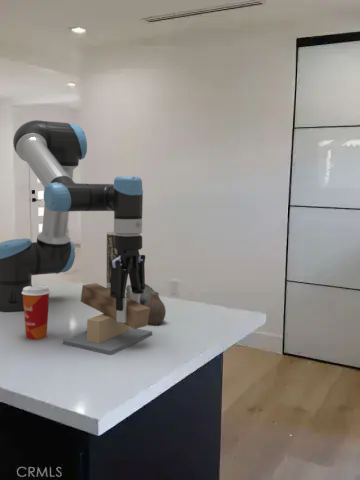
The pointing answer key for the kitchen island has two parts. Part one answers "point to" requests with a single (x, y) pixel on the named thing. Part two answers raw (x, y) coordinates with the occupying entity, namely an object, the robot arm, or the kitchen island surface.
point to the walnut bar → (114, 305)
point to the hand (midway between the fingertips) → (128, 319)
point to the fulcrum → (106, 335)
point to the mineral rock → (143, 297)
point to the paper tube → (110, 255)
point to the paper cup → (36, 311)
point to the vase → (155, 310)
